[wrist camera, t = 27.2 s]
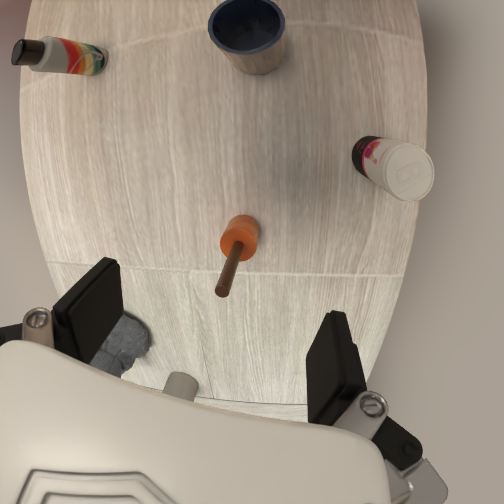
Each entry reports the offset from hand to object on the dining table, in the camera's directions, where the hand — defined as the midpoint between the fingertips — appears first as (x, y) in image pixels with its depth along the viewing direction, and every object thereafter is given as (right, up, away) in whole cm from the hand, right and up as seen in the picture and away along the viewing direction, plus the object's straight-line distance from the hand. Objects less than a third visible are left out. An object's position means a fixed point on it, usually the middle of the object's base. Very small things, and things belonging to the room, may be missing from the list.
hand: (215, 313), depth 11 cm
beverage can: (+20, +18, +27) cm, 38 cm away
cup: (-17, -32, +55) cm, 67 cm away
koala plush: (-30, -17, +49) cm, 61 cm away
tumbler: (+2, +32, +21) cm, 39 cm away
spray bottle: (-26, +37, +22) cm, 51 cm away
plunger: (0, +6, +34) cm, 35 cm away
